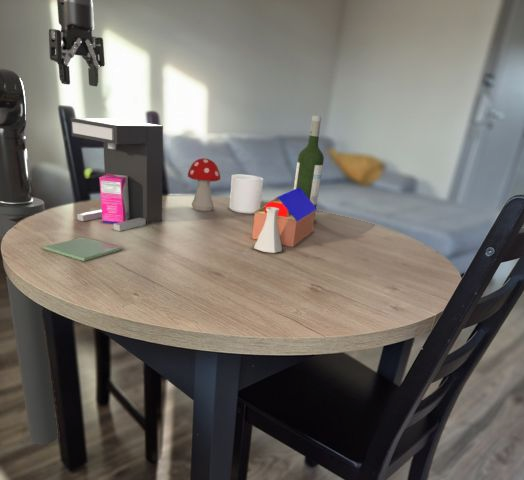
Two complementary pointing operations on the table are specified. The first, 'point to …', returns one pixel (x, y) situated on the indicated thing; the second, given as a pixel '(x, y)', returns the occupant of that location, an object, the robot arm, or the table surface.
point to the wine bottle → (310, 164)
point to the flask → (269, 233)
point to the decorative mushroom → (203, 182)
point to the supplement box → (114, 198)
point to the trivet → (82, 248)
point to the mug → (245, 193)
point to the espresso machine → (129, 164)
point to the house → (288, 217)
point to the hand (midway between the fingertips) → (79, 85)
